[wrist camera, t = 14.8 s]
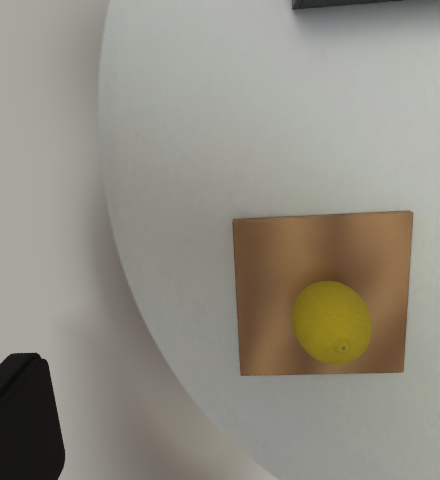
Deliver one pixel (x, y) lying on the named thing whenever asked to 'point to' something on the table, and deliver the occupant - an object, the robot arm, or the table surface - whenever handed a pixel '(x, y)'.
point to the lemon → (331, 322)
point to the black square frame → (330, 3)
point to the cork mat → (315, 270)
